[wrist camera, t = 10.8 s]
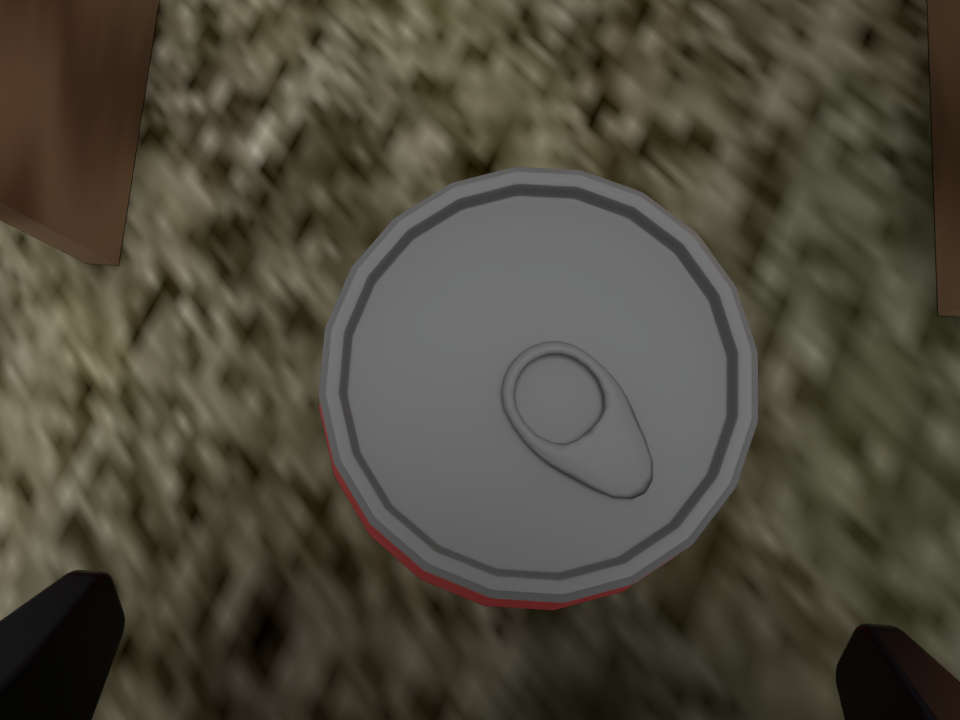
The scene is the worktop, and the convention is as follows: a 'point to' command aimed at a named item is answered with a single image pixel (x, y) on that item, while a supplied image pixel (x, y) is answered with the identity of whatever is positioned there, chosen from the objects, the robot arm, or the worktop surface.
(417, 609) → the worktop surface
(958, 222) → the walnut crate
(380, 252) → the beer can
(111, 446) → the worktop surface
